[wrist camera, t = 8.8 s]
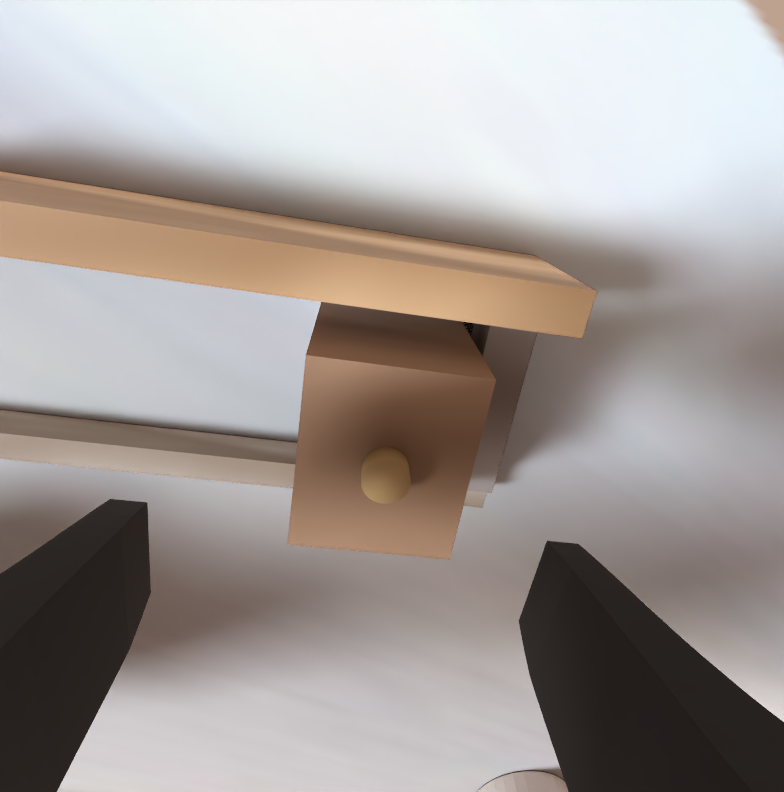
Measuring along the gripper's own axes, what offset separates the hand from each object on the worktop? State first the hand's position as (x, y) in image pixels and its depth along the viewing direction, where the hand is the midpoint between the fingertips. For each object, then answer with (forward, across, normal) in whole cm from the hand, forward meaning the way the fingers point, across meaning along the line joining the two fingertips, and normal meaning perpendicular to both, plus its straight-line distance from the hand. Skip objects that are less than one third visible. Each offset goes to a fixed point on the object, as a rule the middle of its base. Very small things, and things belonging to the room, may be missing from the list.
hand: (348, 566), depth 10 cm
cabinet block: (+10, -1, 0) cm, 10 cm away
